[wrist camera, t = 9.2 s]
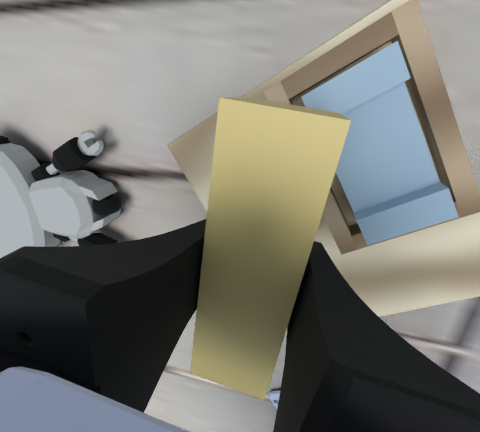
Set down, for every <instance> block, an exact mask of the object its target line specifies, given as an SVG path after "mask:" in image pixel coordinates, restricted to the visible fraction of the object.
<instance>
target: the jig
mask: <svg viewBox="0 0 480 432" xmlns="http://www.w3.org/2000/svg"><path fill="white" fill-rule="evenodd" d="M396 41H398V43H399V46H400V49H401V52H402V54H403V57H404V60H405V63H406V66H407V69H408V72H409V75H410V79H408V80H406V81H404V82H405V85H406V88H407V91H408V93H409V96H410V99H411V102H412V105H413V108H414V111H415V113H416V116H417V119H418V122H419V125H420V128H421V130H422V133H423V136H424V139H425V142H426V145H427V147H428V150H429V153H430V156H431V159H432V162H433V165H434V167H435V170H436V173H437V176H438V179H439V182H440V183H442V184H443V185H445V186H446V187H448V188H449V191H450V193H451V196H452V199H453V202H454V205H455V208H456V211H457V214H458V217H457V218H454V219H451V220H448V221H444V222H441V223H438V224H435V225H432V226H428V227H425V228H422V229H419V230H415V231H412V232H409V233H406V234H402V235H399V236H396V237H393V238H390V239H386V240H383V241H380V242H377V243H373V244H370V245H367V243H366V241H365V239H364V237H363V234H362V232H361V230H360V228H359V225H358V223H357V221H356V218H355V215H354V212H353V210H352V207H351V205H350V203H349V201H348V198H347V196H346V194H345V192H344V189H343V187H342V185H341V183H340V181H339V178H338V176H337V174H336V172H335V175H334V178H333V181H332V185H331V188H330V191H329V194H328V197H327V201H326V204H325V207H324V210H323V214H322V217H321V220H320V223H319V226H318V230H317V233H316V236H315V239H314V241H316V242H320V243H322V245H323V246H324V248H325V250H326V251H327V253H328V255H329V256H330V258H331V260H332V261H333V263H334V264H335V266H336V267H337V269H338V270H339V272H340V273H341V275H342V276H343V277H344V279H345V280H346V281H347V283H348V284H349V285H350V286H351V288H352V289H353V290H354V291H355V293H356V294H357V295H358V296H359V297H360V298H361V299H362V300H363V301H364V303H365V304H366V305H367V306H368V307H369V308H370V309H371V310H372V311H373V312H374V313H375V314H376V315H377V316H378V317H380V316H385V315H390V314H395V313H400V312H405V311H410V310H415V309H420V308H425V307H430V306H434V305H439V304H444V303H449V302H454V301H459V300H464V299H469V298H474V297H479V296H480V195H479V192H478V189H477V185H476V182H475V179H474V176H473V173H472V170H471V167H470V163H469V160H468V157H467V154H466V151H465V148H464V145H463V141H462V138H461V135H460V132H459V129H458V126H457V123H456V119H455V116H454V113H453V110H452V107H451V104H450V101H449V97H448V94H447V91H446V88H445V85H444V82H443V79H442V75H441V72H440V69H439V66H438V63H437V60H436V57H435V53H434V50H433V47H432V44H431V41H430V38H429V35H428V31H427V28H426V25H425V22H424V19H423V16H422V13H421V10H420V6H419V3H418V0H391V1H390V2H388V3H387V4H385V5H384V6H382V7H381V8H379V9H377V10H376V11H374V12H373V13H371V14H370V15H368V16H367V17H365V18H363V19H362V20H360V21H359V22H357V23H356V24H354V25H353V26H351V27H350V28H348V29H346V30H345V31H343V32H342V33H340V34H339V35H337V36H336V37H334V38H332V39H331V40H329V41H328V42H326V43H325V44H323V45H322V46H320V47H318V48H317V49H315V50H314V51H312V52H311V53H309V54H308V55H306V56H304V57H303V58H301V59H300V60H298V61H297V62H295V63H294V64H292V65H290V66H289V67H287V68H286V69H284V70H283V71H281V72H280V73H278V74H277V75H275V76H273V77H272V78H270V79H269V80H267V81H266V82H264V83H263V84H261V85H259V86H258V87H256V88H255V89H253V90H252V91H250V92H249V93H247V94H245V95H244V96H242V97H241V98H256V99H262V100H268V101H273V102H279V103H285V104H291V105H297V106H303V107H305V105H304V103H303V100H302V98H301V97H302V96H303V95H305V94H307V93H309V92H310V91H312V90H314V89H315V88H317V87H319V86H321V85H322V84H324V83H326V82H328V81H329V80H331V79H333V78H334V77H336V76H338V75H340V74H341V73H343V72H345V71H346V70H348V69H350V68H352V67H353V66H355V65H357V64H358V63H360V62H362V61H364V60H365V59H367V58H369V57H370V56H372V55H374V54H376V53H377V52H379V51H381V50H382V49H384V48H386V47H388V46H389V45H391V44H393V43H395V42H396ZM217 115H218V112H217V113H216V114H214V115H213V116H211V117H210V118H208V119H207V120H205V121H204V122H202V123H200V124H199V125H197V126H196V127H194V128H193V129H191V130H190V131H188V132H186V133H185V134H183V135H182V136H180V137H179V138H177V139H176V140H174V141H172V142H171V143H169V144H168V147H169V149H170V150H171V152H172V154H173V156H174V157H175V159H176V161H177V162H178V164H179V166H180V167H181V169H182V171H183V172H184V174H185V176H186V178H187V179H188V181H189V183H190V184H191V186H192V188H193V189H194V191H195V193H196V194H197V196H198V198H199V200H200V201H201V203H202V205H203V206H204V208H205V210H206V211H207V209H208V199H209V190H210V181H211V171H212V162H213V152H214V143H215V133H216V124H217ZM286 335H287V329H286V332H285V336H286Z"/></svg>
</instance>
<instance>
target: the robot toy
mask: <svg viewBox="0 0 480 432" xmlns="http://www.w3.org/2000/svg"><path fill="white" fill-rule="evenodd" d="M96 137H99V136H98V134H97V133H96V132H94V131H92V130H87V131H84V132H82V133H81V134H80V136H79V138H77V137H74V138H73V139H71V140H69V141H67V142H66V143H65V144H63V145H62V146H60V147H59V148H58V149H56V150H55V151H53V158H52V163H43V164H42V165H40V164H39V163H38V161H37V160H36V158H35V157H34V156H33V155H32V154H31V153H30V152H29V151H28V150H27V149H25V148H24V147H22V146H21V145H15V144H13V143H11V142H10V141H9V140H8V138H7V137H4V136H0V257H4V256H6V255H8V254H10V253H12V252H13V251H15V250H17V249H19V248H21V247H24V246H33V247H56V246H57V245H59V243H60V240H61V241H64V242H65V241H68V240H70V239H71V240H73V241H76V242H78V244H79V246H93V245H105V244H113V243H118V242H117V240H115V239H113V238H111V237H108V236H106V235H104V234H102V233H94V232H95V231H97V230H98V229H100V228H102V227H104V226H105V225H107V224H108V223H110V222H111V221H113V220H114V219H116V218H118V217H119V216H120V212H121V200H120V198H119V197H118V196H117V195H115V194H113V193H116V192H118V191H117V190H116V188H115V187H114V186H113V184H112V183H111V182H109V181H106V180H103V179H100V178H98V177H97V176H96V175H95V174H93V173H91V172H88V171H85V170H79V171H72V172H68V173H63V174H60V173H59V171H64V170H77V169H78V168H80V167H82V166H83V165H85V164H86V163H88V162H89V161H91V160H92V159H93V158H95V157H96V156H98V155H99V154H100V153H101V151H102V150H103V149H104V143H103V142H102V140H100V141H97V142H96V143H94V142H93V139H95V138H96Z"/></svg>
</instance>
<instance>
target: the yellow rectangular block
mask: <svg viewBox="0 0 480 432" xmlns="http://www.w3.org/2000/svg"><path fill="white" fill-rule="evenodd" d="M350 123H351V120H350V119H348V118H347V117H345V116H343V115H342V114H340V113H338V112H332V111H326V110H320V109H314V108H308V107H303V106H297V105H291V104H285V103H279V102H273V101H268V100H262V99H256V98H220V97H219V105H218V115H217V124H216V133H215V143H214V152H213V162H212V171H211V181H210V190H209V199H208V209H207V218H206V228H205V237H204V246H203V256H202V265H201V275H200V284H199V294H198V303H197V312H196V322H195V331H194V341H193V350H192V360H191V369H190V373H192V374H194V375H197V376H200V377H202V378H205V379H208V380H210V381H213V382H216V383H218V384H221V385H224V386H226V387H229V388H232V389H234V390H237V391H240V392H242V393H245V394H248V395H250V396H253V397H256V398H258V399H261V400H265V397H266V394H267V390H268V387H269V384H270V381H271V378H272V374H273V371H274V368H275V365H276V361H277V358H278V355H279V352H280V349H281V345H282V342H283V339H284V336H285V332H286V329H287V326H288V323H289V320H290V316H291V313H292V310H293V307H294V304H295V300H296V297H297V294H298V291H299V287H300V284H301V281H302V278H303V275H304V271H305V268H306V265H307V262H308V259H309V255H310V252H311V249H312V246H313V242H314V239H315V236H316V233H317V230H318V226H319V223H320V220H321V217H322V214H323V210H324V207H325V204H326V201H327V197H328V194H329V191H330V188H331V185H332V181H333V178H334V175H335V172H336V168H337V165H338V162H339V159H340V156H341V152H342V149H343V146H344V143H345V140H346V136H347V133H348V130H349V127H350Z"/></svg>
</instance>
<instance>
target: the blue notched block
mask: <svg viewBox="0 0 480 432" xmlns="http://www.w3.org/2000/svg"><path fill="white" fill-rule="evenodd" d="M408 79H410V75H409V72H408V69H407V66H406V63H405V60H404V57H403V54H402V52H401V49H400V46H399V43H398V41H396V42H395V43H393V44H391V45H389V46H388V47H386V48H384V49H382V50H381V51H379V52H377V53H376V54H374V55H372V56H370V57H369V58H367V59H365V60H364V61H362V62H360V63H358V64H357V65H355V66H353V67H352V68H350V69H348V70H346V71H345V72H343V73H341V74H340V75H338V76H336V77H334V78H333V79H331V80H329V81H328V82H326V83H324V84H322V85H321V86H319V87H317V88H315V89H314V90H312V91H310V92H309V93H307V94H305V95H303V96H302V97H301V98H302V100H303V103H304V105H305V107H308V108H314V109H320V110H326V111H332V112H338V113H340V114H342V115H343V116H345V117H347V118H348V119H350V120H351V123H350V127H349V130H348V133H347V136H346V140H345V143H344V146H343V149H342V152H341V156H340V159H339V162H338V165H337V168H336V174H337V176H338V178H339V181H340V183H341V185H342V187H343V189H344V192H345V194H346V196H347V198H348V201H349V203H350V205H351V207H352V210H353V212H354V215H355V218H356V221H357V223H358V225H359V228H360V230H361V232H362V234H363V237H364V239H365V241H366V243H367V245H370V244H373V243H377V242H380V241H383V240H386V239H390V238H393V237H396V236H399V235H402V234H406V233H409V232H412V231H415V230H419V229H422V228H425V227H428V226H432V225H435V224H438V223H441V222H444V221H448V220H451V219H454V218H457V217H458V214H457V211H456V208H455V205H454V202H453V199H452V196H451V193H450V191H449V188H448V187H446V186H445V185H443V184H442V183H440V182H439V179H438V176H437V173H436V170H435V167H434V165H433V162H432V159H431V156H430V153H429V150H428V147H427V145H426V142H425V139H424V136H423V133H422V130H421V128H420V125H419V122H418V119H417V116H416V113H415V111H414V108H413V105H412V102H411V99H410V96H409V93H408V91H407V88H406V85H405V82H404V81H406V80H408Z"/></svg>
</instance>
